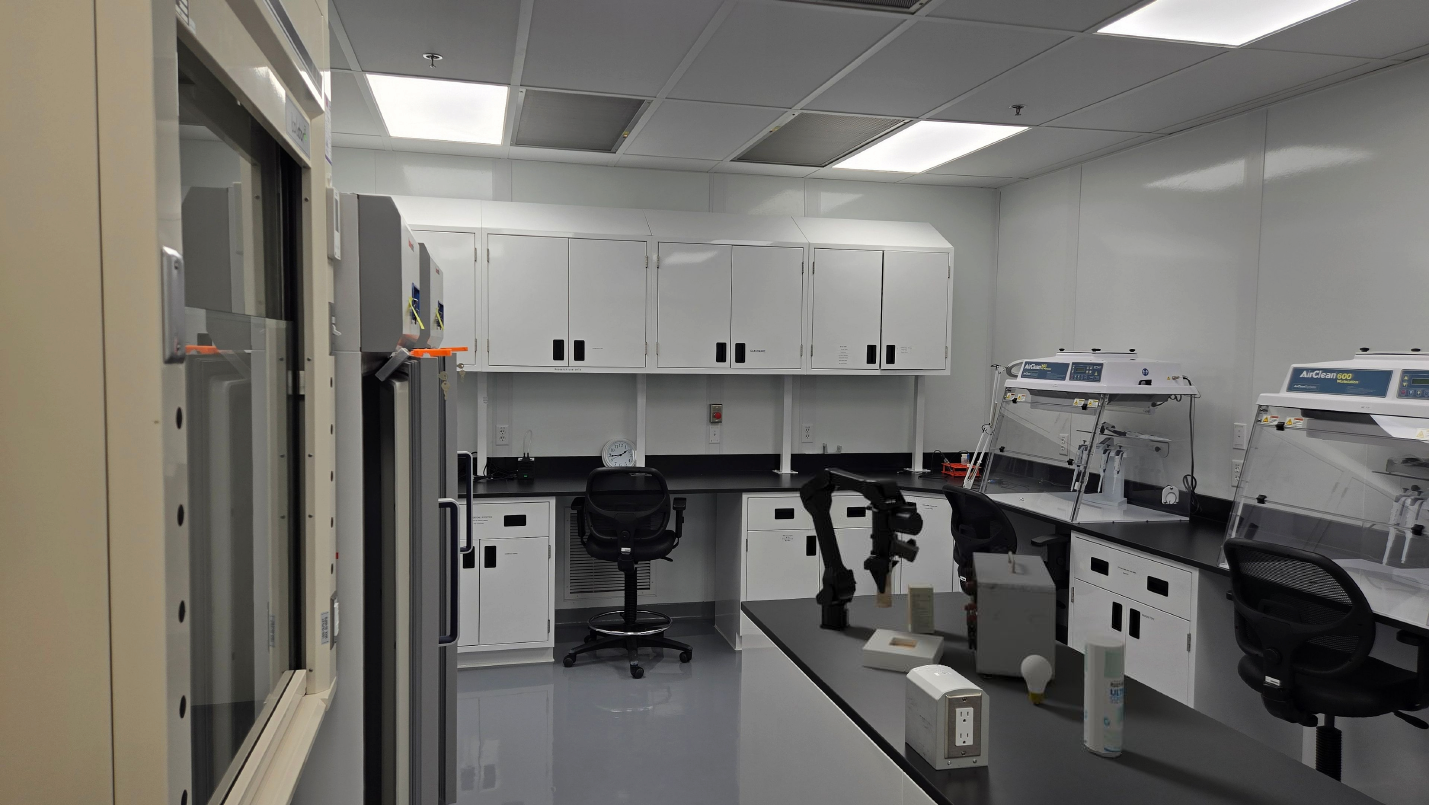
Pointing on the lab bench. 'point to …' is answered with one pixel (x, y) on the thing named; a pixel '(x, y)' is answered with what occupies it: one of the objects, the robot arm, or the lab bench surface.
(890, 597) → the wooden peg
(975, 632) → the vintage electronic device
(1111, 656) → the spray can
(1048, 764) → the lab bench surface
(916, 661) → the socket block
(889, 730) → the lab bench surface
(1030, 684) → the light bulb
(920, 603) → the skincare box
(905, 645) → the plunger plate
